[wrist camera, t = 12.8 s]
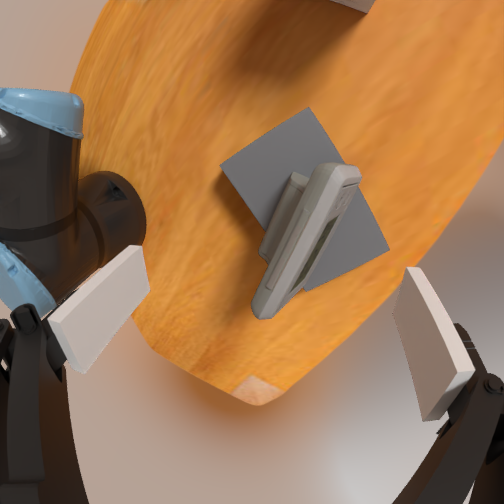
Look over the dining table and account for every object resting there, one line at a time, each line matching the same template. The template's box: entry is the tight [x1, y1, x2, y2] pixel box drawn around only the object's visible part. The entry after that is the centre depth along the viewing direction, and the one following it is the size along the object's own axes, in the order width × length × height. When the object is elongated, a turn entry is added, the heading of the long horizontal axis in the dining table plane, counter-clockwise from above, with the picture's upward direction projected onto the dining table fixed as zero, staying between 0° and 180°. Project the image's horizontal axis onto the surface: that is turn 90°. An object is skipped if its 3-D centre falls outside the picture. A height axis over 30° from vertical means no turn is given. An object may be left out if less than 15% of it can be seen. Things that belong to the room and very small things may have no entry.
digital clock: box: [251, 162, 362, 320], centre depth 28 cm, size 16×9×11 cm, turn 148°
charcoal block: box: [219, 107, 390, 292], centre depth 34 cm, size 12×19×5 cm, turn 35°
